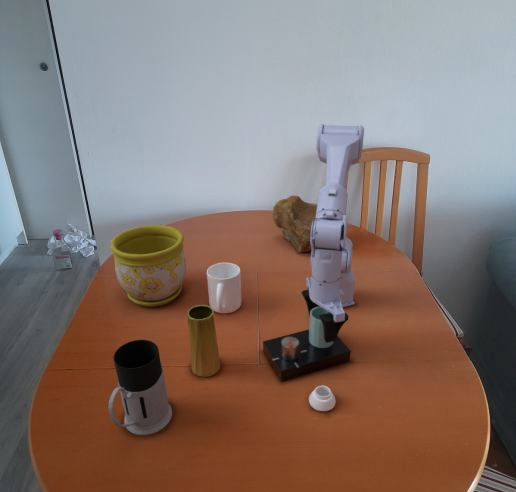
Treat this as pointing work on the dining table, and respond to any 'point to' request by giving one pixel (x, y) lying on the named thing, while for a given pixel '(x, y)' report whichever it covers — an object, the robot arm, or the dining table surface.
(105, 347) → the dining table surface
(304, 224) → the rough brown rock
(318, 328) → the cup
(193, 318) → the vase
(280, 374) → the hob
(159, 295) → the flowerpot
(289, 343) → the hob knob
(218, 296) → the mug
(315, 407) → the white jar
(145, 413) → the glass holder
